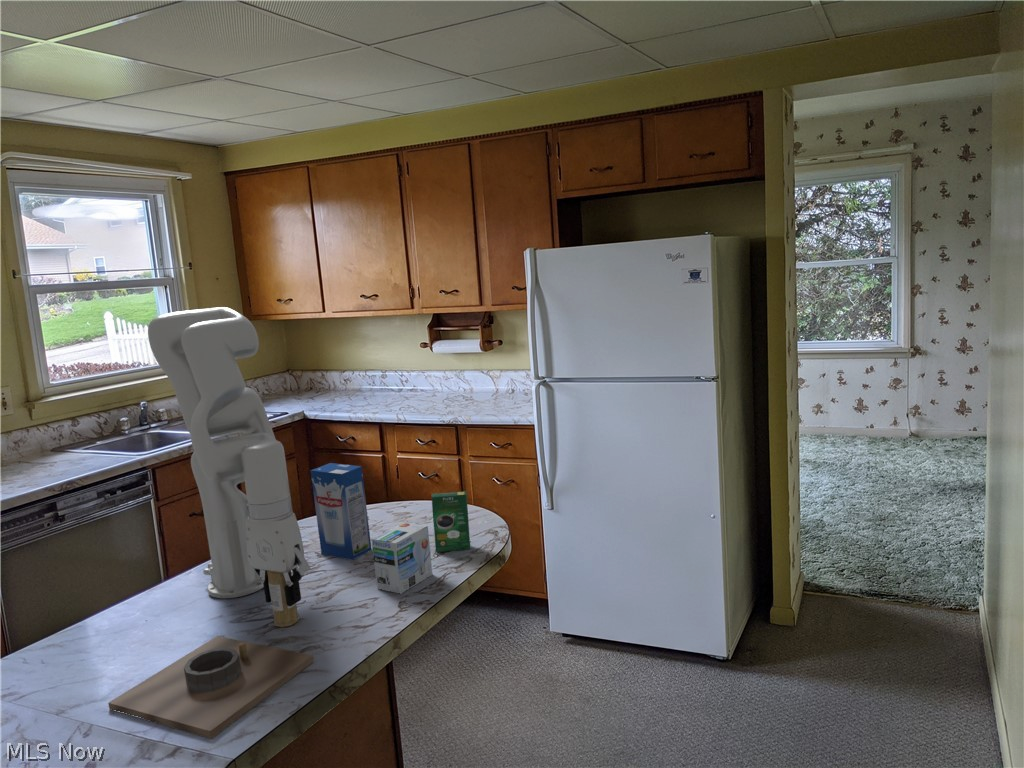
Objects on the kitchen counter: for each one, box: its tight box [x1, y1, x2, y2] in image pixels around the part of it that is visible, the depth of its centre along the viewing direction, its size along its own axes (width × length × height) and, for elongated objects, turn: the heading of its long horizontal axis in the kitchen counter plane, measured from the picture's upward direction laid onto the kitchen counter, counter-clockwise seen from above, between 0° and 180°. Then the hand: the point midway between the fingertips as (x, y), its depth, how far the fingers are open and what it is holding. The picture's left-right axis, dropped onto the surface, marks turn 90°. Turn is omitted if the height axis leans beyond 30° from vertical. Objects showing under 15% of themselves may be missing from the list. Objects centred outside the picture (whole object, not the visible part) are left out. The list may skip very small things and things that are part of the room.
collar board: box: [108, 635, 314, 739], centre depth 126 cm, size 22×22×4 cm
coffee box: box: [431, 490, 471, 553], centre depth 175 cm, size 8×3×13 cm, turn 93°
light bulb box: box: [370, 521, 433, 595], centre depth 159 cm, size 11×7×11 cm, turn 148°
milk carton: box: [309, 462, 373, 561], centre depth 178 cm, size 10×6×20 cm, turn 58°
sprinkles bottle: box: [267, 570, 300, 628], centre depth 145 cm, size 5×5×13 cm
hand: (283, 600), depth 146 cm, fingers closed on sprinkles bottle, 4 cm apart
